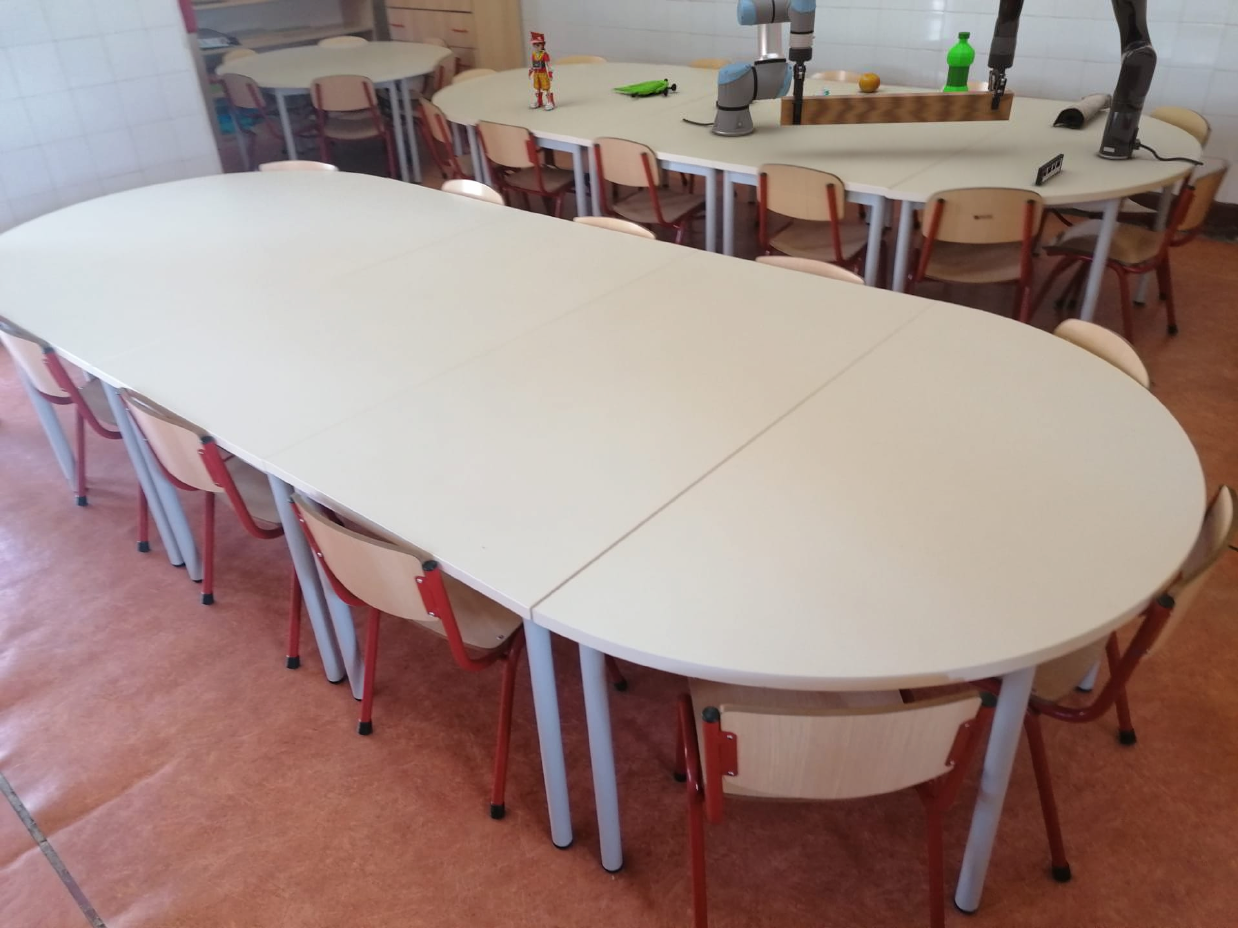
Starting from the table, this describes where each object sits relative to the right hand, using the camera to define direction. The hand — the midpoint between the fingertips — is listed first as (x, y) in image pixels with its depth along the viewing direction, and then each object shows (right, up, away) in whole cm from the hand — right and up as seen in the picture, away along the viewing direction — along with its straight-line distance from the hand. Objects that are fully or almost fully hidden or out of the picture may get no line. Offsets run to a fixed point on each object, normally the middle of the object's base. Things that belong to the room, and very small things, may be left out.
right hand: (992, 107), depth 293 cm
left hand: (-62, -1, +10) cm, 63 cm away
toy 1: (-155, +36, +90) cm, 183 cm away
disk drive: (-74, +32, +77) cm, 111 cm away
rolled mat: (+47, +9, +33) cm, 58 cm away
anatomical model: (-40, +21, +58) cm, 74 cm away
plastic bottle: (+11, +27, +62) cm, 69 cm away
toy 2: (-113, +48, +104) cm, 161 cm away
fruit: (-17, +40, +84) cm, 94 cm away
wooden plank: (-31, -2, +6) cm, 32 cm away
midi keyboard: (+10, -29, -18) cm, 35 cm away
